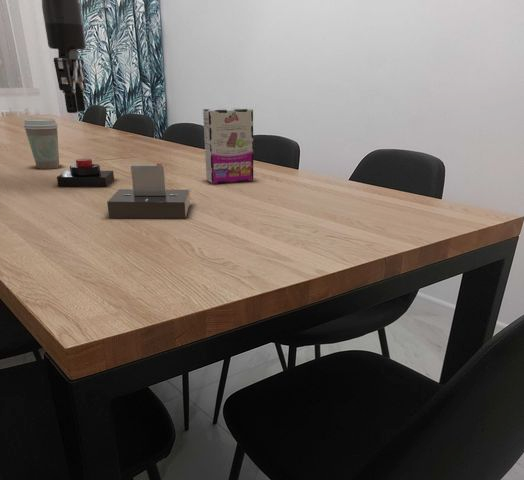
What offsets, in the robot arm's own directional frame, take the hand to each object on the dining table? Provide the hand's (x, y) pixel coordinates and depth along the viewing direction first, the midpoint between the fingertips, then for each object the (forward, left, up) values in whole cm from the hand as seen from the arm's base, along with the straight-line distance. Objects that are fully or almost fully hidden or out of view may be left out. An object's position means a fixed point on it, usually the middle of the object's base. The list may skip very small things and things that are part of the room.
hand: (76, 111), depth 112 cm
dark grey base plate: (+19, -27, -16) cm, 36 cm away
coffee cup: (-16, +22, -16) cm, 31 cm away
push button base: (0, 0, -16) cm, 16 cm away
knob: (+19, -27, -13) cm, 35 cm away
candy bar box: (+34, +4, -16) cm, 38 cm away
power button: (0, 0, -12) cm, 12 cm away
